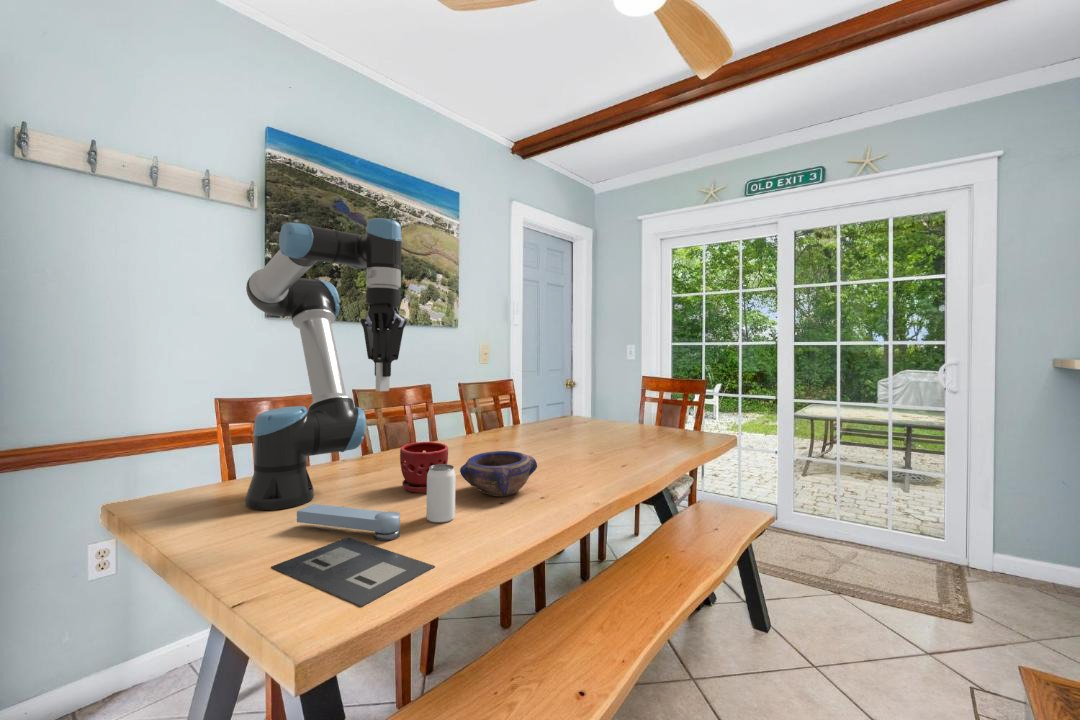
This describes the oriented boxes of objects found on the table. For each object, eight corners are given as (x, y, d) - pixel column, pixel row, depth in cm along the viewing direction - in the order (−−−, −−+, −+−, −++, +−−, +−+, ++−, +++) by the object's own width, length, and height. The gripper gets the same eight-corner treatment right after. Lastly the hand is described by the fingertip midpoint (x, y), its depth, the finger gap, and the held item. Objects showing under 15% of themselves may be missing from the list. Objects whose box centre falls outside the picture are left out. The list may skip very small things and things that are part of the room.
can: (448, 524, 107) (449, 471, 107) (421, 522, 109) (422, 469, 108) (459, 515, 114) (459, 464, 113) (433, 512, 115) (434, 463, 115)
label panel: (271, 567, 85) (271, 566, 85) (348, 537, 99) (348, 536, 99) (361, 607, 73) (361, 605, 73) (434, 567, 87) (434, 565, 87)
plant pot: (389, 489, 133) (390, 446, 133) (428, 479, 144) (429, 439, 143) (418, 499, 125) (419, 453, 125) (457, 488, 135) (458, 446, 135)
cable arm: (313, 515, 107) (313, 502, 107) (404, 525, 102) (404, 512, 102) (296, 523, 102) (297, 510, 102) (391, 534, 97) (392, 520, 97)
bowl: (451, 494, 130) (451, 457, 130) (493, 479, 145) (494, 446, 145) (502, 507, 120) (503, 467, 120) (543, 490, 135) (543, 455, 134)
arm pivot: (369, 537, 99) (369, 531, 99) (388, 530, 104) (388, 524, 104) (386, 543, 97) (386, 537, 97) (404, 535, 101) (404, 529, 101)
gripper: (351, 287, 110) (350, 390, 111) (390, 284, 103) (389, 393, 104) (377, 291, 117) (376, 388, 117) (416, 288, 110) (414, 391, 111)
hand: (382, 390), depth 111 cm, fingers closed
